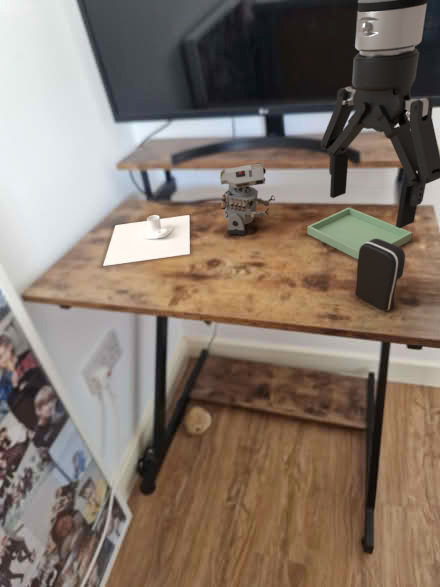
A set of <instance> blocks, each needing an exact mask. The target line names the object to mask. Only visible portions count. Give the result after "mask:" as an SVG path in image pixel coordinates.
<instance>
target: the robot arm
mask: <svg viewBox="0 0 440 587" xmlns="http://www.w3.org/2000/svg"><path fill="white" fill-rule="evenodd" d="M427 5H428V0H357V11H356V25H355V26H356V28H355V41H354V47H355V49H356V50H357V51H359V52H357V53H356V54H355V56H354V57H353V65H352V66H353V67H352V77H351V78H352V80H351V84H352V85H351V86H346V87H343V88H339V89H338V90H337V93H336V94H337V95H336V101H335V106H334V108H333V111H332V114H331V116H330V119H329V121H328V124H327V126H326V129H325V131H324V134H323V136H322V139H321V141H320V144H319V147H320V149H321V150H322V151H324V150H325V151H326V152H327V155H328V156H329V168H328V172H329V175H330V187H329V188H330V189H329V190H330V191H329V192H330V193H329V197H330V198H331V199H335V198H337V197H340V196H342V195H345V194H346V193H347V183H348V182H347V181H348V166H349V153H346V152H348V148H349V147H350V145H351V144H352V143H353V142H354V140H355V139H356V138H357V137H358V136H359V134H360V133H361V132H362V131H363V129H366V130H370V129H372V130H374V131H376V132H379V133H383V134H384V136H385V137H386V139H389V140H390V142H391V145H392V147H393V149H394V152H395V153H396V155H397V158H398V160H399V163H400V165H401V167H402V169H403V171H404V173H405V176H406V178H407V180H406V181H403V182H402V184H401V192H400V196H399V197H400V198H399V204H398V210H397V216H396V223H395V226H396V227H398V228H402V229H403V228H404V227H407V226H408V225H410V224H413V223H414V222H415V218H416V213H417V212H416V211H417V206H419V205H421V204H422V202H423V200H424V195H425V190H426V187H427V186H426V185H428V184H430V183H432V182H434V181H437V180H439V179H440V150H439V146H438V141H437V136H436V131H435V125H434V122H433V107H434V99H433V97H431V96H425V97H422V98H412V97H411V88H412V86H413V84H414V82H415V80H416V76H417V70H418V63H419V57H420V51H419V50H418V49H417V48H415V47H416V46H418V45H419V44H421V42H422V40H423V33H424V26H425V21H426V20H425V18H426V11H427V7H428V6H427ZM353 108H354V109H355V111H354V112H353V114H352V111H353ZM351 114H352V115H351ZM397 125H398V126H397Z"/></svg>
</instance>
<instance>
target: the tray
mask: <svg viewBox="0 0 440 587" xmlns="http://www.w3.org/2000/svg"><path fill="white" fill-rule="evenodd" d="M306 231H307V232H306V234H307V235H309V236H311V237H313V238H315V239H317V240H319V241H320V242H323V243H324V244H327V245H328V246H331V247H332V248H334V249H336V250H339V251H340V252H342V253H344V254H346V255H347V256H350V257H352V258H353V259H356V260H358V257H359V250H360V247H361V246H362V245H363V244H364V243H365V242H369V241H370V240H372V239H381V240H383V241H386V242H388V243H391V244H393V245H395V246H397V247H399V248H401V247H402V246H403V245H405V244H407V243H408V242H410V241H412V236H413V232H412V231H410V230H407V229H405V228H403V227H402V228H398V227H396V224H395V225H394V224H392V223H390V222H387V221H385V220H382V219H379V218H378V217H375V216H372V215H369V214H367V213H364V212H362V211H359V210H357V209H355V208H352V207H346V208H344V209H342V210H340V211H338V212H336V213H333V214H331V215H329V216H327V217H325V218H323V219H321V220H318V221H316V222H314V223H312V224H310V225H308V226H307V229H306Z"/></svg>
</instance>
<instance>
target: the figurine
mask: <svg viewBox="0 0 440 587" xmlns="http://www.w3.org/2000/svg"><path fill="white" fill-rule="evenodd" d="M266 172H267V171H266V168H264V167H263V162H256V163H253V164H248V165H247V164H246V165H241V166H235V167H230V168H229V167H228V168H225V169H222V170H221V171H220V177H219V178H220V179H219V180H220V185H221V186H222V185H229V186H228V189H227V191H226V192H224V194H222V195H221V206H220V209H221V210H224V213H223V214H224V215H223V218H224V219H225V220H226V221H227V234H228V235H229V236H232V235H233V236H235V235H238V236H245V235H246V234H247V229H246V227H245V225H246V224H252V222H253V221H254V220H255V218H259V219H261V218H262V217H263V216H264V215H268V216H269V214H270V212H269V210H270V208H268V207H269V205H270V202H271V201H276V198H275V196H274V195H273V194H272V195H271V196H270V198H269V199H268V200H266V199H262V198H261V197H259V198H258V194H259V190H257V189H256V188H254V187H253V186H259V185H265V184H266V177H265V174H266ZM257 204H258V205H264V206H265V207H267V209H266V210H265V211H263V212H262V211H258V212H256V210H257Z"/></svg>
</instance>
